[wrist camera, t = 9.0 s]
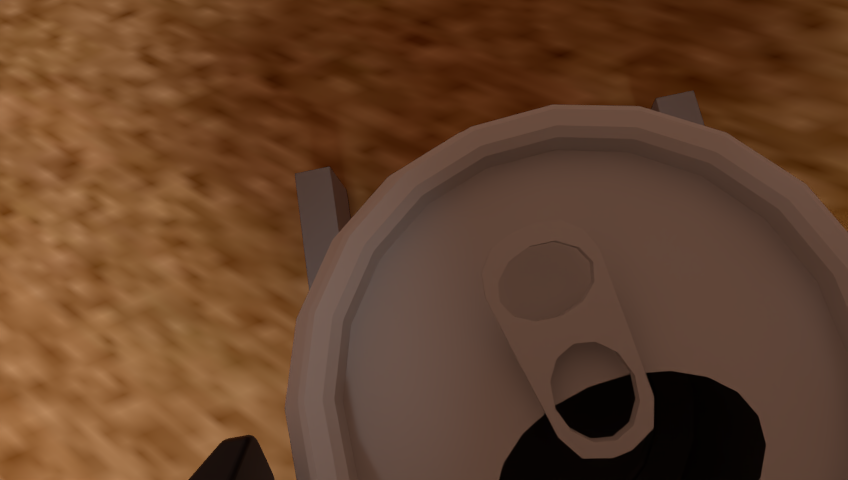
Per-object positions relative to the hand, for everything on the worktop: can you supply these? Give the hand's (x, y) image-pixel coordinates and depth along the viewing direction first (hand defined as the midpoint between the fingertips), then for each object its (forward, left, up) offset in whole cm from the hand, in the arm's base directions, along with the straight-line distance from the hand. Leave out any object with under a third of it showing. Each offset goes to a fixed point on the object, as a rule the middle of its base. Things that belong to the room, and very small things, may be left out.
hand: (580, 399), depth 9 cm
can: (0, 0, -10) cm, 10 cm away
